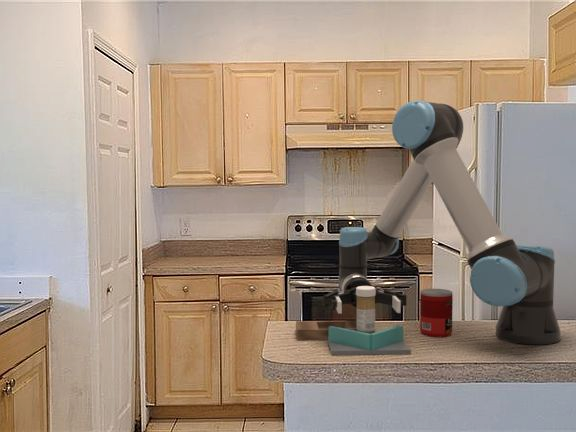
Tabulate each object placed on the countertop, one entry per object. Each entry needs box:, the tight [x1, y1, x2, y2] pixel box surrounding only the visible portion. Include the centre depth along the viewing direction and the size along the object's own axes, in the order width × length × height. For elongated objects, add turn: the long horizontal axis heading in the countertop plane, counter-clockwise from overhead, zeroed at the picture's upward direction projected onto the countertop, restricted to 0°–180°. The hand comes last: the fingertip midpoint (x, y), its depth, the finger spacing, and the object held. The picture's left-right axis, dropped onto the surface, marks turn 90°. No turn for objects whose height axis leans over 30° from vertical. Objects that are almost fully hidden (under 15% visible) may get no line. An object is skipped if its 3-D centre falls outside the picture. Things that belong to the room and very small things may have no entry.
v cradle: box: [326, 324, 412, 356], centre depth 156 cm, size 18×12×4 cm, turn 91°
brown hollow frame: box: [295, 319, 357, 341], centre depth 168 cm, size 18×9×3 cm, turn 91°
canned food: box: [419, 288, 454, 338], centre depth 169 cm, size 8×8×11 cm
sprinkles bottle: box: [356, 285, 377, 334], centre depth 156 cm, size 5×5×14 cm
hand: (369, 307), depth 152 cm, fingers open, 13 cm apart
